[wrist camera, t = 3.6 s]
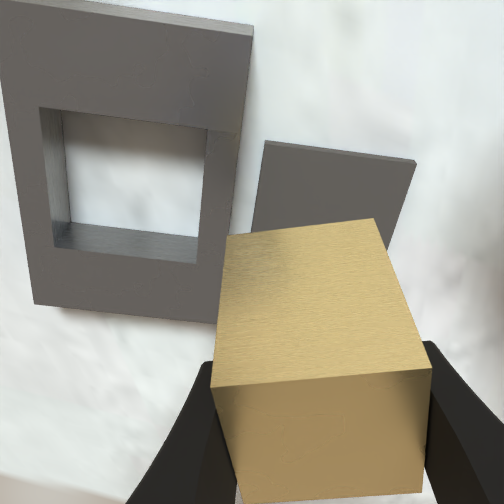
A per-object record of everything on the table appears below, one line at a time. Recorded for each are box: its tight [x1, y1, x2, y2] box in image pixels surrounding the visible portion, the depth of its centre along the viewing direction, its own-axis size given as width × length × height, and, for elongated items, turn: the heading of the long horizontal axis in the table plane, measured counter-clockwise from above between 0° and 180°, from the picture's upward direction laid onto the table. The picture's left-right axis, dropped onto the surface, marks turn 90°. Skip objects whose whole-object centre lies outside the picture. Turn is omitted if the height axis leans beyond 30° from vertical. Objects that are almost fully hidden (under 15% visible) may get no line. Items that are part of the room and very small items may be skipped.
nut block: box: [210, 218, 432, 504], centre depth 14 cm, size 4×4×6 cm
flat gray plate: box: [251, 140, 417, 251], centre depth 21 cm, size 6×6×1 cm
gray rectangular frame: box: [0, 0, 254, 324], centre depth 19 cm, size 8×12×2 cm, turn 172°
